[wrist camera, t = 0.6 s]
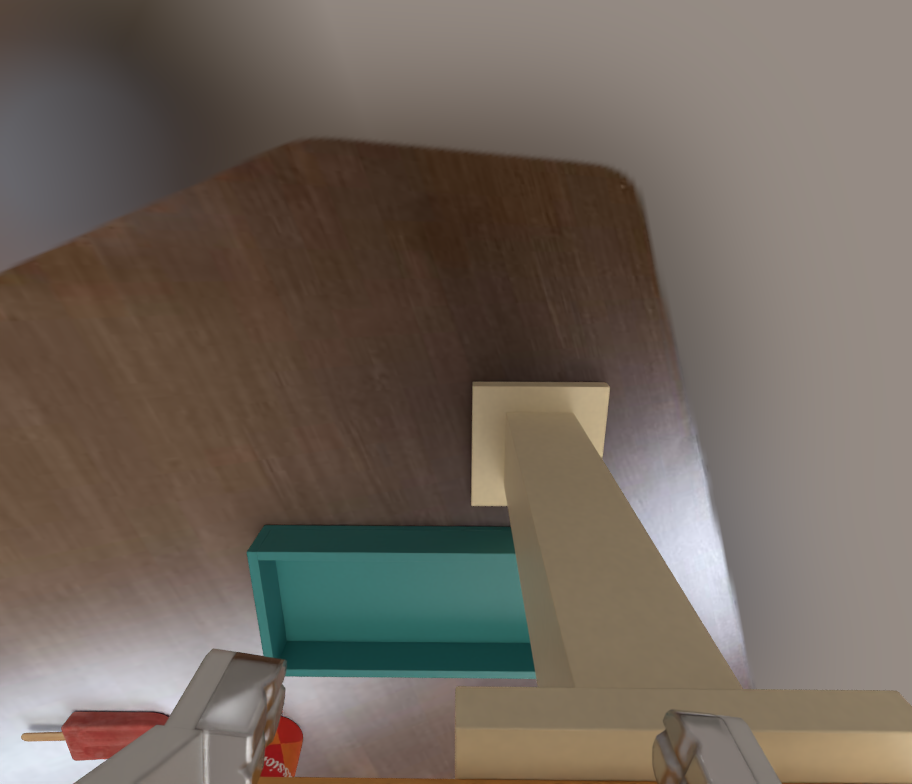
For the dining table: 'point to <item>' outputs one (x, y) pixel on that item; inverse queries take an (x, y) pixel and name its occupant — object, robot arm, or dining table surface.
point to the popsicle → (100, 732)
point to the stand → (623, 625)
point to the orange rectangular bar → (437, 781)
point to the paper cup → (283, 750)
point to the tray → (391, 601)
